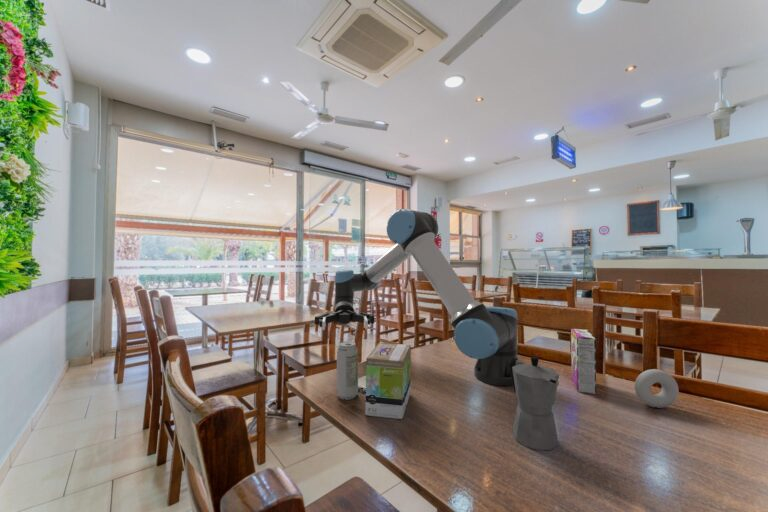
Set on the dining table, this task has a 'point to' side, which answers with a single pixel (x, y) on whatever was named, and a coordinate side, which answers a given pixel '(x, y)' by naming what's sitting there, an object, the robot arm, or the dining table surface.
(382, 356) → the tea box
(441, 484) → the dining table surface
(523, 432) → the coffeepot
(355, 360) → the energy drink can
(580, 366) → the candy bar box
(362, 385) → the pad
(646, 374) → the donut
